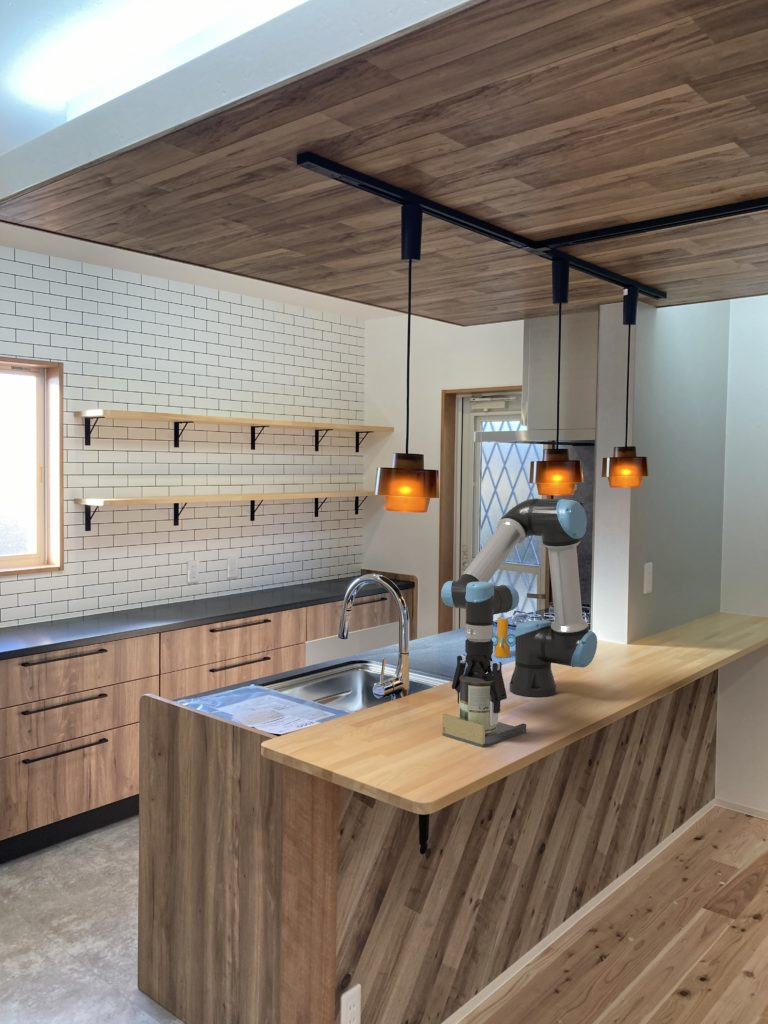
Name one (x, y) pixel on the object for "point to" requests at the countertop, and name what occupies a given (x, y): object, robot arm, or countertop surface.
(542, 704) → the countertop surface
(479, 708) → the coffee can
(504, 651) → the orange column with rings
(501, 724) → the rail channel
